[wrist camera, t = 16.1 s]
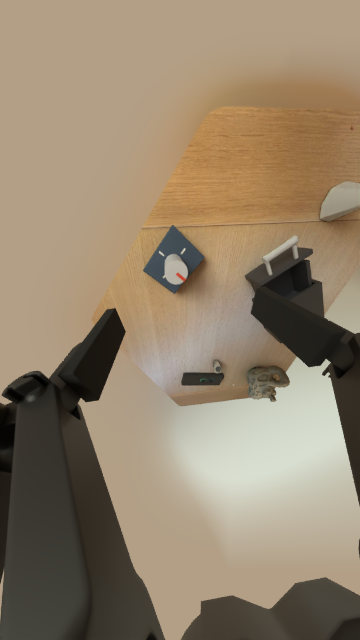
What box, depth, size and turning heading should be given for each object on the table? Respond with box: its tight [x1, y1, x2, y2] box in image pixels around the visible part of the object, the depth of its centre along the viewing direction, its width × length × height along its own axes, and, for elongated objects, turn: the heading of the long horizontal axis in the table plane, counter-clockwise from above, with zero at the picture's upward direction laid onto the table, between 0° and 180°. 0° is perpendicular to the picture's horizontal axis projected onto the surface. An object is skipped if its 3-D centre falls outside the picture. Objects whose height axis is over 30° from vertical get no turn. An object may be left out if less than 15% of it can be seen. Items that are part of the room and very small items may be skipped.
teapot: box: [247, 366, 290, 402], centre depth 60 cm, size 21×12×15 cm, turn 158°
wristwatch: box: [213, 360, 222, 373], centre depth 58 cm, size 4×6×5 cm, turn 7°
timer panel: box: [143, 225, 204, 294], centre depth 33 cm, size 12×10×3 cm
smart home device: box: [181, 373, 224, 385], centre depth 65 cm, size 8×2×20 cm
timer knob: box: [165, 254, 188, 285], centre depth 28 cm, size 4×4×9 cm
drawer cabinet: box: [252, 279, 324, 343], centre depth 42 cm, size 16×14×9 cm
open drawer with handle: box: [245, 236, 313, 299], centre depth 35 cm, size 20×12×7 cm, turn 36°
